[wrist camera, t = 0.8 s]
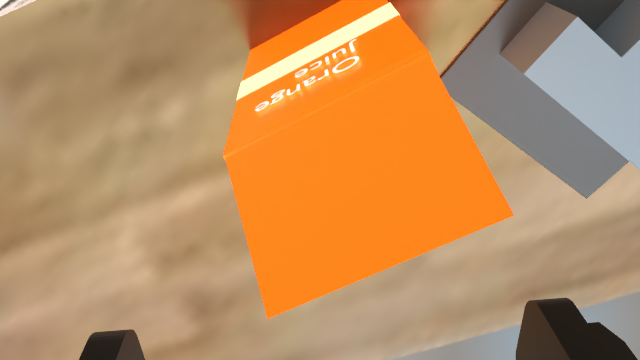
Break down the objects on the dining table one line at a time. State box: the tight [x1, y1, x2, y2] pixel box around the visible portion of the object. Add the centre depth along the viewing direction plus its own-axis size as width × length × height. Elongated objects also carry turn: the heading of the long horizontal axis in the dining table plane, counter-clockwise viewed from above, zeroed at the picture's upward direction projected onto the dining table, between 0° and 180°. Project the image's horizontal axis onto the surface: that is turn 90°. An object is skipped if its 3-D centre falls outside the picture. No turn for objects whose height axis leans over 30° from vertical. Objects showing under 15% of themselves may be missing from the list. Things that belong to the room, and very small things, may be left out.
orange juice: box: [223, 0, 514, 319], centre depth 24 cm, size 8×9×20 cm
